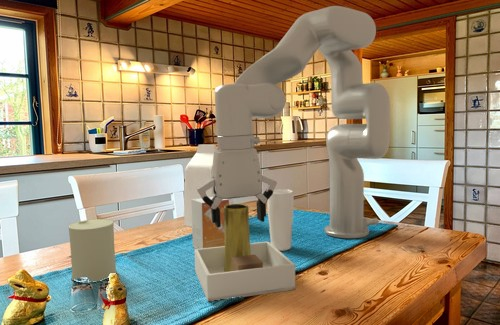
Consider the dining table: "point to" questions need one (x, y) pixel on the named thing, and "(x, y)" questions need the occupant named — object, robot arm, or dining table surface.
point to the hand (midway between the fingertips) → (239, 223)
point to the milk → (198, 178)
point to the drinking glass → (281, 218)
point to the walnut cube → (246, 262)
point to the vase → (236, 233)
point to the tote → (244, 273)
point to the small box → (207, 225)
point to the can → (92, 249)
